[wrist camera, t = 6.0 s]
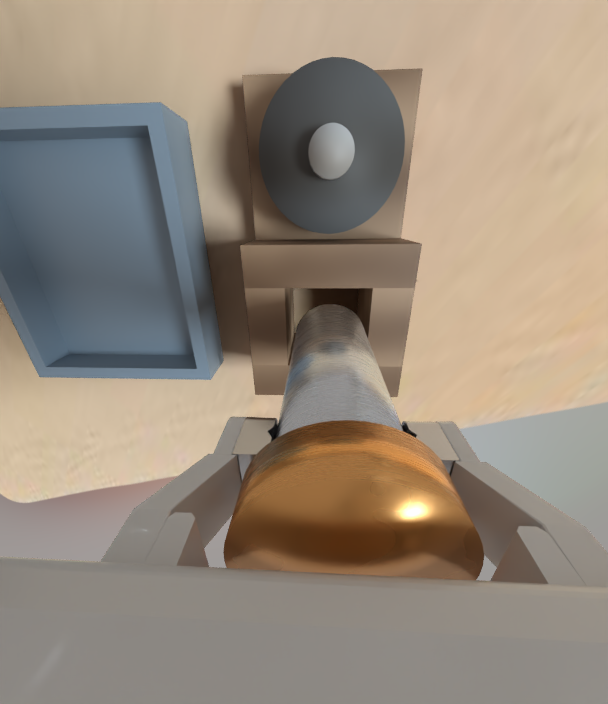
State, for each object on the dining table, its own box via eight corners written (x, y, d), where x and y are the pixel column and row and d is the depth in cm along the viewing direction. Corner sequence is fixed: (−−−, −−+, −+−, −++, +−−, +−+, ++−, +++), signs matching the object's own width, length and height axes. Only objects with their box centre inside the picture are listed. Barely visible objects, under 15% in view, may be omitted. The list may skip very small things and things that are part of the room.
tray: (-25, 127, 20) (-91, 111, 16) (187, 121, 19) (160, 102, 16) (71, 358, 27) (39, 377, 24) (223, 360, 27) (210, 379, 23)
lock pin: (284, 293, 15) (203, 475, 5) (379, 293, 15) (522, 485, 4) (287, 374, 18) (238, 620, 7) (370, 375, 18) (450, 632, 7)
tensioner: (248, 85, 18) (217, 29, 12) (414, 80, 17) (457, 18, 12) (268, 357, 26) (255, 394, 21) (380, 359, 26) (397, 396, 20)
